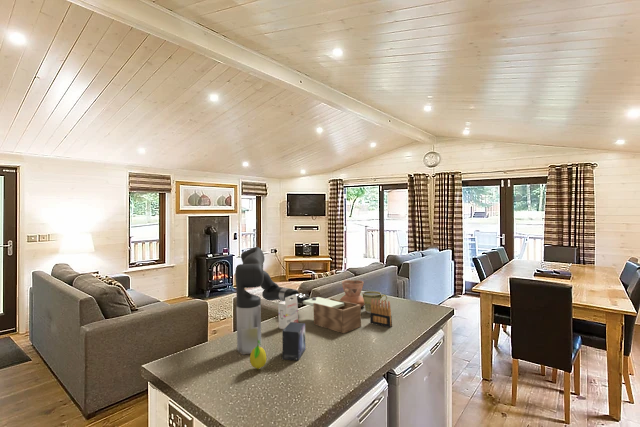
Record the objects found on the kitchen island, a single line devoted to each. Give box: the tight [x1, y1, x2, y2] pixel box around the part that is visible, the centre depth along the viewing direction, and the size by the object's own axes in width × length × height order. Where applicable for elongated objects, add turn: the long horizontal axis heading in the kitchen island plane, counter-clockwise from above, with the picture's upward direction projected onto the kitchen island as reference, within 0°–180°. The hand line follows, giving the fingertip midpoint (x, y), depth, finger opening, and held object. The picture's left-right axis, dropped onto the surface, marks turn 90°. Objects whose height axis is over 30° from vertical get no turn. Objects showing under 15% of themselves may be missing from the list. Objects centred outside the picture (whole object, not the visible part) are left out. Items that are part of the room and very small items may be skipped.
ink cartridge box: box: [277, 295, 299, 330], centre depth 156 cm, size 9×5×15 cm, turn 143°
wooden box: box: [313, 298, 362, 334], centre depth 157 cm, size 19×12×10 cm, turn 45°
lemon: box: [249, 340, 267, 370], centre depth 113 cm, size 7×6×10 cm
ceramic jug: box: [339, 279, 365, 308], centre depth 189 cm, size 18×14×14 cm
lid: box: [302, 296, 344, 308], centre depth 163 cm, size 18×10×2 cm, turn 45°
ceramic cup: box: [361, 290, 388, 314], centre depth 177 cm, size 13×10×10 cm
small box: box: [281, 322, 306, 362], centre depth 125 cm, size 11×6×10 cm, turn 168°
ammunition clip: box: [369, 298, 393, 328], centre depth 156 cm, size 11×2×12 cm, turn 50°
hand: (310, 300), depth 169 cm, fingers closed
